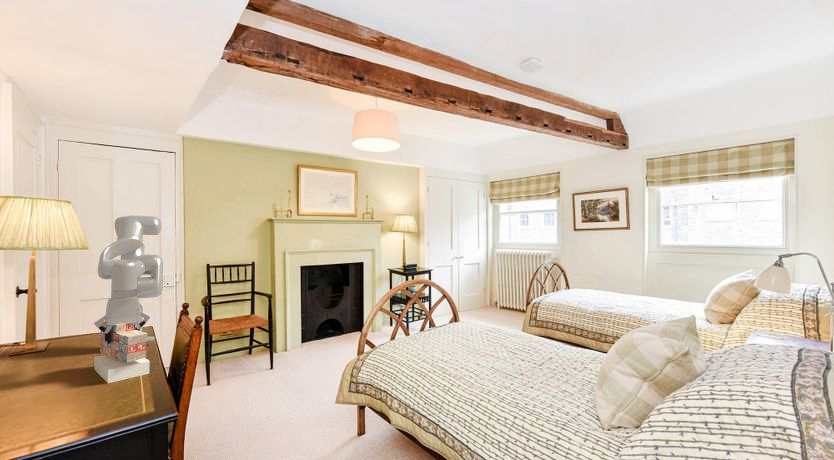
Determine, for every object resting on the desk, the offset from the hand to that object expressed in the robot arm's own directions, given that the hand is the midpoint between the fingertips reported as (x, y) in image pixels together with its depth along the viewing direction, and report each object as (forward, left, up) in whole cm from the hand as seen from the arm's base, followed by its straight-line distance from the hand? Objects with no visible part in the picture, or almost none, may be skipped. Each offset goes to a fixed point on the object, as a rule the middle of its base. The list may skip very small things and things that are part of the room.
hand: (122, 340), depth 137 cm
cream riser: (0, 0, -12) cm, 12 cm away
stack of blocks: (0, +1, -6) cm, 6 cm away
